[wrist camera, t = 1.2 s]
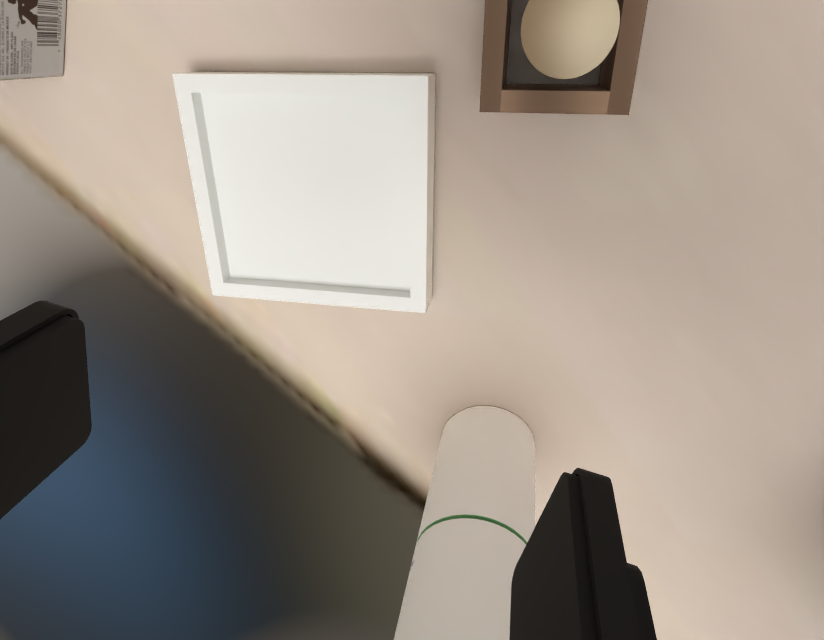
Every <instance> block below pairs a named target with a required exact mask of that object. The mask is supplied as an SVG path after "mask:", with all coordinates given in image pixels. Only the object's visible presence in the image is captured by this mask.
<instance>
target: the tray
mask: <svg viewBox="0 0 824 640" xmlns="http://www.w3.org/2000/svg"><path fill="white" fill-rule="evenodd" d="M172 75H173V81H174V86H175V92H176V97H177V103H178V108H179V114H180V119H181V125H182V130H183V136H184V141H185V147H186V153H187V158H188V164H189V169H190V175H191V180H192V186H193V191H194V197H195V202H196V208H197V213H198V219H199V224H200V230H201V235H202V241H203V246H204V252H205V257H206V263H207V268H208V274H209V279H210V285H211V290H212V295H216V296H228V297H240V298H252V299H264V300H276V301H287V302H299V303H311V304H323V305H335V306H346V307H358V308H370V309H382V310H394V311H405V312H417V313H426V311H427V309H428V306H429V304H430V301H431V299H432V266H433V206H434V145H435V84H436V74H430V73H293V72H186V73H173V74H172Z"/></svg>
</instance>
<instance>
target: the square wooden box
mask: <svg viewBox="0 0 824 640" xmlns="http://www.w3.org/2000/svg"><path fill="white" fill-rule="evenodd" d="M617 2H618V5H619V11H620V24H619V30H618V35H617V38H616V41H615V43H614V45H613V47H612V49H611V50H610V52H609V54H608V55H607V56H606V58H605V59H604V60H603V61H602V64H601V71H600V79H599V85H572V84H506V76H507V62H508V47H509V33H510V19H511V4H512V0H485V16H484V35H483V55H482V75H481V94H480V112H511V113H563V114H615V115H629V111H630V105H631V99H632V93H633V87H634V81H635V75H636V69H637V63H638V57H639V51H640V45H641V39H642V33H643V27H644V21H645V15H646V9H647V3H648V0H617Z"/></svg>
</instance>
